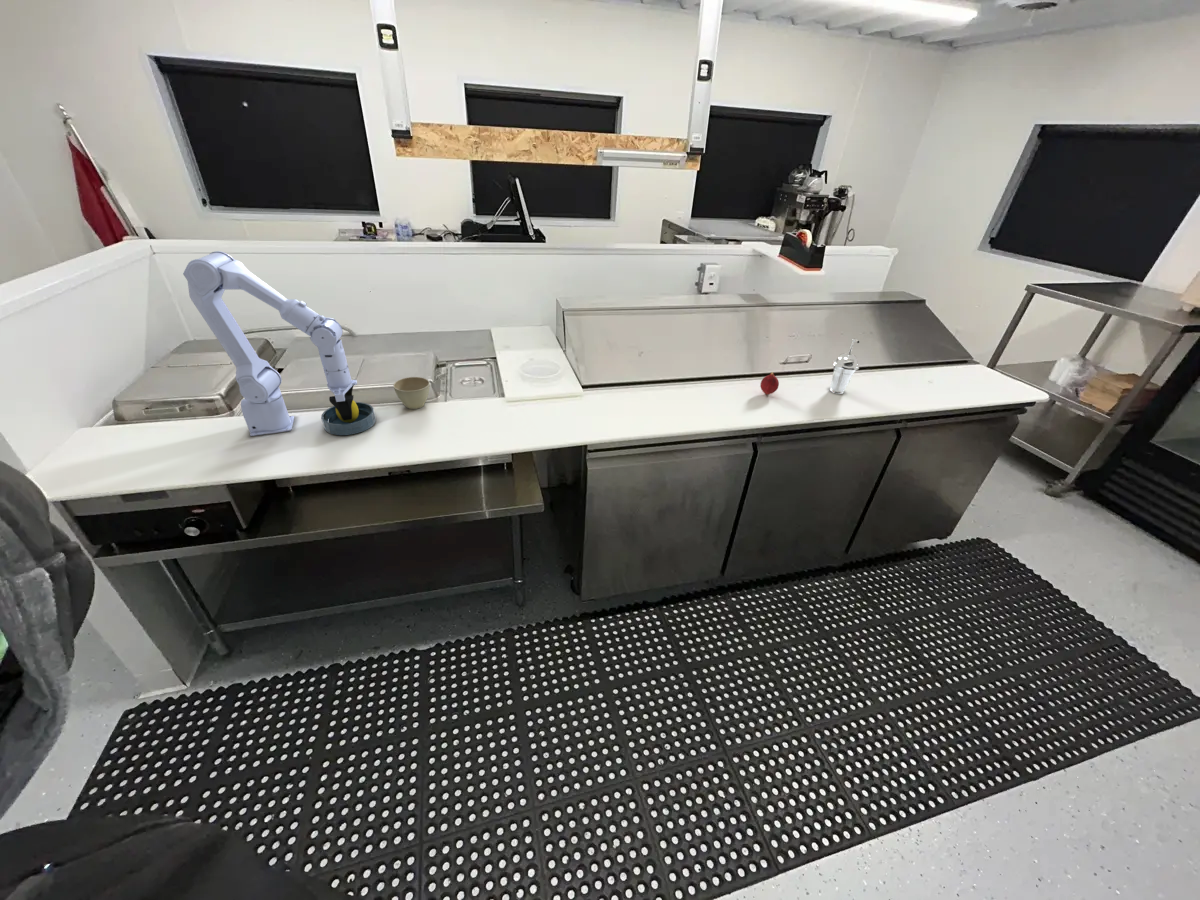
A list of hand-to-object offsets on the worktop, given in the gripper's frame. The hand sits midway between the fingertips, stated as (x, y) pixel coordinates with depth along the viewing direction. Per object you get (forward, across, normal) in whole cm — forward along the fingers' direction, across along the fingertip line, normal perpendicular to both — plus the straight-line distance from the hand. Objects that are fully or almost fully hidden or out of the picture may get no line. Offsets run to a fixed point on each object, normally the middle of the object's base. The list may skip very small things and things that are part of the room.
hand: (348, 413), depth 133 cm
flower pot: (+4, +6, -18) cm, 19 cm away
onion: (+4, -18, -128) cm, 130 cm away
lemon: (+3, 0, 0) cm, 3 cm away
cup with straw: (+4, -24, -154) cm, 156 cm away
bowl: (+3, 0, 0) cm, 3 cm away
